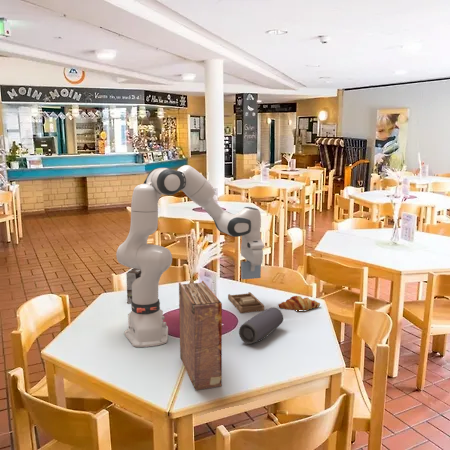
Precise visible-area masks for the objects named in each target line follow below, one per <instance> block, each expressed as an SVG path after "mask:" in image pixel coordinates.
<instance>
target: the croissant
mask: <svg viewBox="0 0 450 450" xmlns="http://www.w3.org/2000/svg"><path fill="white" fill-rule="evenodd" d="M320 305H321V303H320V302H317V300H312V299H310V298H309V297H304V298H303V297H302V296H300V295H292V296H291V297H290V298H288V299H286V300H285V301H283V302H281V303H278V305H277V306H278V307H279V309H282V310H288V311H289V310H290V311H295V312H296V310H297V311H298V312H300V311H299V310H307V311H309V310H308V309H311V310H313V309H312V308H314V309H317V308H319V307H320Z"/></svg>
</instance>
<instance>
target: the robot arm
mask: <svg viewBox="0 0 450 450" xmlns="http://www.w3.org/2000/svg"><path fill="white" fill-rule="evenodd" d="M180 191H182V192H183V193H184V194H185V195H186V196H187V198H189V199H190V201H192V202H193V203H195V204H196V205H198V206H199V207H201V208H202V209H203V210H204V211H205V212H206V213H207V214H208V215H209V216H210V217H211V218H212V220H213V222H214V224H215V227H216V229H217V230H218V231H219V232H220V233H223V234H227V235H229V236H230V237H234V238H237V237H241V243H240V255H241V257H243V258H244V259H245V261H249V262H251V267H250V271H254V270H255V266H258V265H261V266H262V265H263V258H264V257H263V256H264V248H265V244H264V242H263V241H262V233H261V228H262V216H261V211H260V210H259V209H258V208H256V207H251V206H244V207H243V208H242V209H241V210H240V211H238V212H237V213H235V214H233V213H231V212H229V211H226V210H224V208H222V207H221V206H220V205H219V204H218V202H217V201H216V200H215V199H214V195H215V189H214V188H213V185H212V183H210V182H209V180H208V179H207V178H206V177H205V176H204V175H203V174H202V173H200V172H199V171H198V170H197V169H195V167H192V166H191V165H189V164H184V165H182V166H180V167H178V168H177V170H175V169H172V168H168V167H156V168H154V169H152V170H150V171H149V172H148V174H147V176H146V177H145V179H144V182H143V183H140V184H137V185H136V186H135V187H134V188H133V192H132V195H131V204H130V205H131V206H130V227H129V232H128V234H127V236H126V239H125V240H124V241H123V242H122V243H121V244H119V245H118V248H116V253H115V256H116V260H117V262H118V264H120V265H122V266H125V267H126V268H131V269H133V268H136V269H141V277H139V278H137V279H136V280H135V281H134V282H133V284H132V301H131V303H130V307H131V308H130V309H131V311H130V312H129V313H128V315H127V317H128V318H127V321H128V324H127V325H128V326H127V328H128V329H126V330H124V333H123V334H124V336H126V338H127V340H129V343H131V345H132V346H133V347H134V348H146V347H147V348H148V347H156V346H160V345H164V344H166V343H167V344H168V337H169V336H168V335H169V327H168V325H167V322H166V321H164V320H166V319H165V316H164V314H163V313H164V311H163V310H162V309H161V302H160V298H159V285H160V283H159V282H160V280H161V277H162V275H163V274H164V272H166V271H167V270H168V269H169V268H170V267H171V265H172V263H173V254H172V252H171V250H170V249H169V248H167V247H165V246H162V245H159V244H150V243H148V239H149V236H151V235H153V234H154V233H155V232H157V229H158V225H159V223H158V222H159V221H158V220H159V206H158V205H159V200H160V198H161V196H162V195H165V196H173V195H175V194H177V193H179V192H180Z"/></svg>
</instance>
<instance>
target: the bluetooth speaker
mask: <svg viewBox="0 0 450 450" xmlns="http://www.w3.org/2000/svg"><path fill="white" fill-rule="evenodd" d="M283 322H284V315H283V312H282V311H281V310H280V308H278V307H275V306H273V307H269V308H267V309H264V311H260V312H258V314H256V315H253V316H252V317H251V318H250V319H248V320H246V321H245V322H244V323H243V324H241V326H240V327H239V330H238V334H239V338H240V339H241V341H243V342H244V343H245V344H249V345H251V344H254V343H257V342H260V341H262V340H263V338H264V337H265V338H266V337H268V336H269V335H270V334H271V333H272V332H273V331H275V330H276V329H277V328H278V327H279V326H281V325H282V323H283ZM267 335H268V336H267ZM265 338H264V339H265ZM261 339H262V340H261ZM259 340H260V341H259Z"/></svg>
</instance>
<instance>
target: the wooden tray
mask: <svg viewBox="0 0 450 450" xmlns="http://www.w3.org/2000/svg"><path fill="white" fill-rule="evenodd" d="M247 297H252V298H253V299H255V303H247V304H239V302H240V298H247ZM227 299H228V301H229V302H230V303H231V304H232V306H234V308H236V310H237V311H238V312H239V313H240V314H244V313H252V312H253V313H254V312H255V313H256V312H263V311H265V305H264V303H262V302H261V300H259V298H257V297H256V296H255V295H254V294H253V293H251V292H248V293H241V294H230V293H229V294H227Z"/></svg>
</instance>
